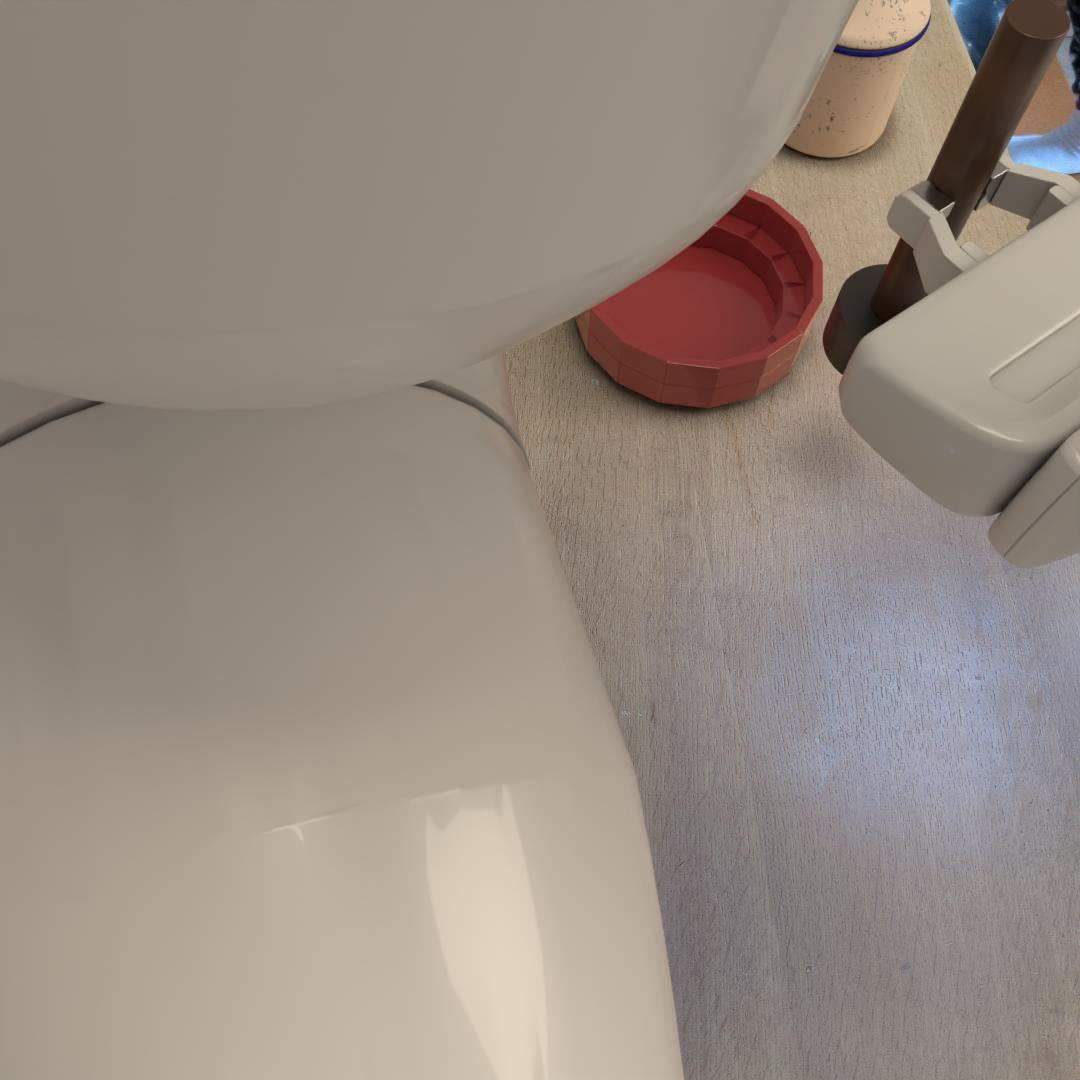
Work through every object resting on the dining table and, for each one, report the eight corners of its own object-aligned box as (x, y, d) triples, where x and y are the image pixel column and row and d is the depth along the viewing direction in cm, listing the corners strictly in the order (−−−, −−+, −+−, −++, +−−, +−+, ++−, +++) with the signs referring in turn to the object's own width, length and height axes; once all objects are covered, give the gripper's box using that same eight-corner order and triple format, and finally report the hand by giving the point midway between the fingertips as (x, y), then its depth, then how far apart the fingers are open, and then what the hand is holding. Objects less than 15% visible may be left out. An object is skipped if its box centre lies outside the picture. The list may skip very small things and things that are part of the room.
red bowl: (746, 450, 60) (762, 406, 56) (533, 350, 63) (534, 301, 59) (839, 284, 65) (860, 234, 61) (640, 200, 68) (647, 146, 64)
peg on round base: (905, 406, 49) (1091, 90, 33) (805, 360, 50) (938, 34, 34) (942, 331, 51) (1134, 0, 35) (846, 289, 53) (989, -51, 36)
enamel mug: (883, 75, 74) (942, -86, 64) (892, 168, 70) (956, 12, 59) (716, 64, 74) (747, -98, 64) (715, 155, 70) (748, -2, 60)
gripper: (1440, 223, 37) (1138, 15, 42) (1065, 511, 32) (767, 232, 37) (1320, 332, 43) (1066, 137, 48) (983, 593, 37) (734, 342, 42)
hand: (933, 180), depth 42 cm, fingers closed on peg on round base, 2 cm apart
